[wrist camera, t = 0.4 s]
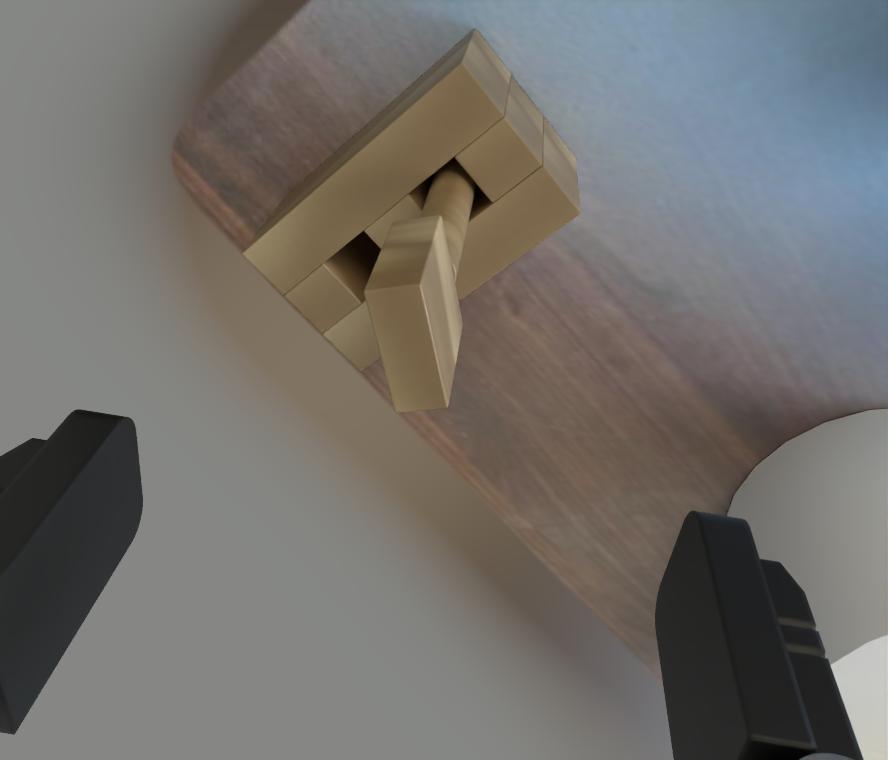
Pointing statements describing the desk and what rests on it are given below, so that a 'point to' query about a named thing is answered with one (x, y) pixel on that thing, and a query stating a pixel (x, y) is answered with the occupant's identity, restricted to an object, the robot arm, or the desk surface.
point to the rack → (419, 192)
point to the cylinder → (834, 551)
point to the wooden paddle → (422, 294)
